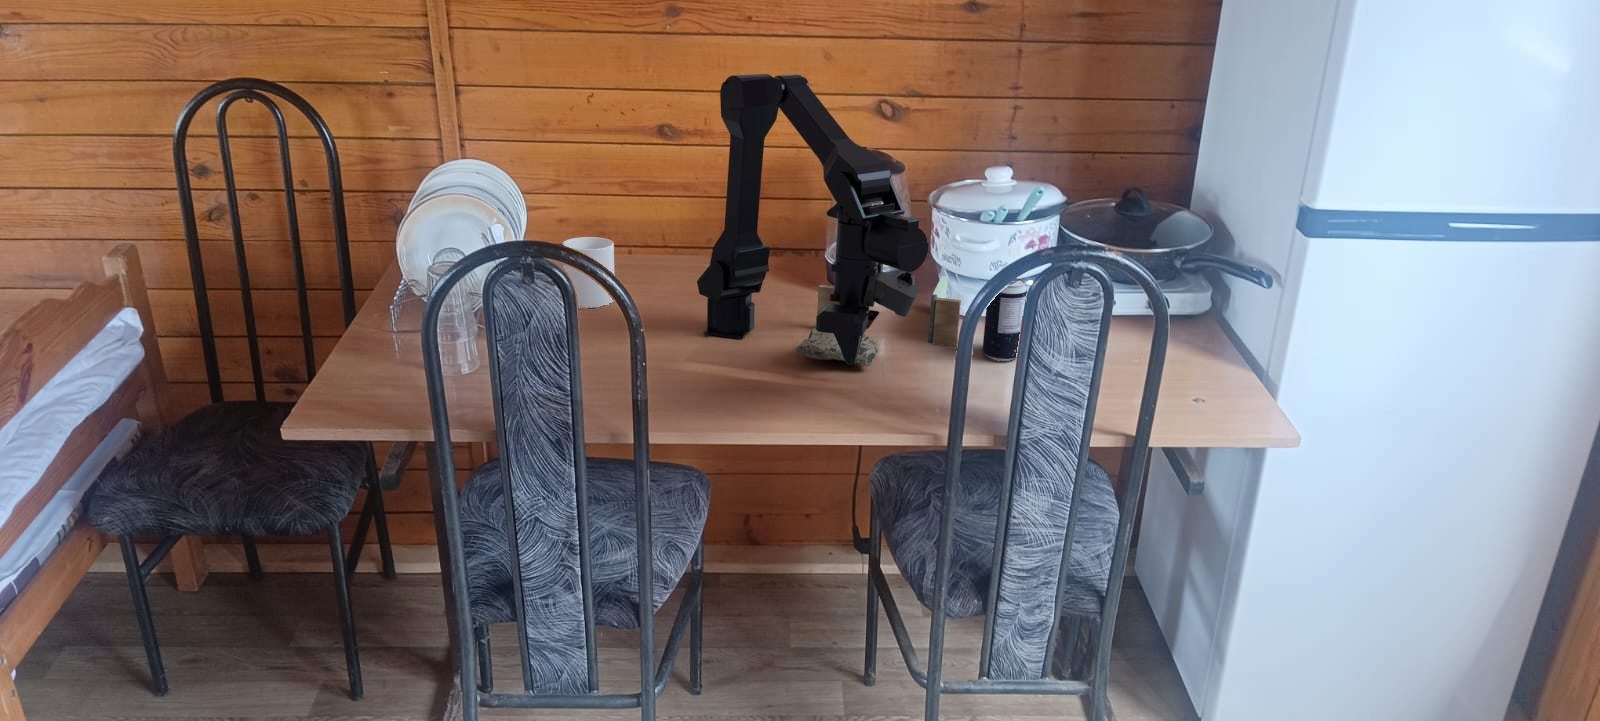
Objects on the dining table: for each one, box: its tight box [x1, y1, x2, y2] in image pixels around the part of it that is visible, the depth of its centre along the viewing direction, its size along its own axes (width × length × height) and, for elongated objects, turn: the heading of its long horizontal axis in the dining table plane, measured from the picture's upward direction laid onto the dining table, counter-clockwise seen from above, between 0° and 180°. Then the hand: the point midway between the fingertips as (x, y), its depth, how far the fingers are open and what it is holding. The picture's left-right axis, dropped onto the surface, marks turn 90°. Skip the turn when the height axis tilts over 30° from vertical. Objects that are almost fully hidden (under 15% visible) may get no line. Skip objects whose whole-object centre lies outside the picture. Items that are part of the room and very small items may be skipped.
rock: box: [795, 327, 879, 367], centre depth 168 cm, size 11×11×4 cm
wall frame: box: [816, 284, 962, 347], centre depth 178 cm, size 22×1×8 cm, turn 75°
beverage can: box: [981, 278, 1028, 362], centre depth 171 cm, size 6×6×12 cm
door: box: [930, 275, 949, 311], centre depth 182 cm, size 12×1×7 cm, turn 166°
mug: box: [561, 236, 615, 310], centre depth 191 cm, size 12×8×10 cm
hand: (850, 363), depth 159 cm, fingers closed
